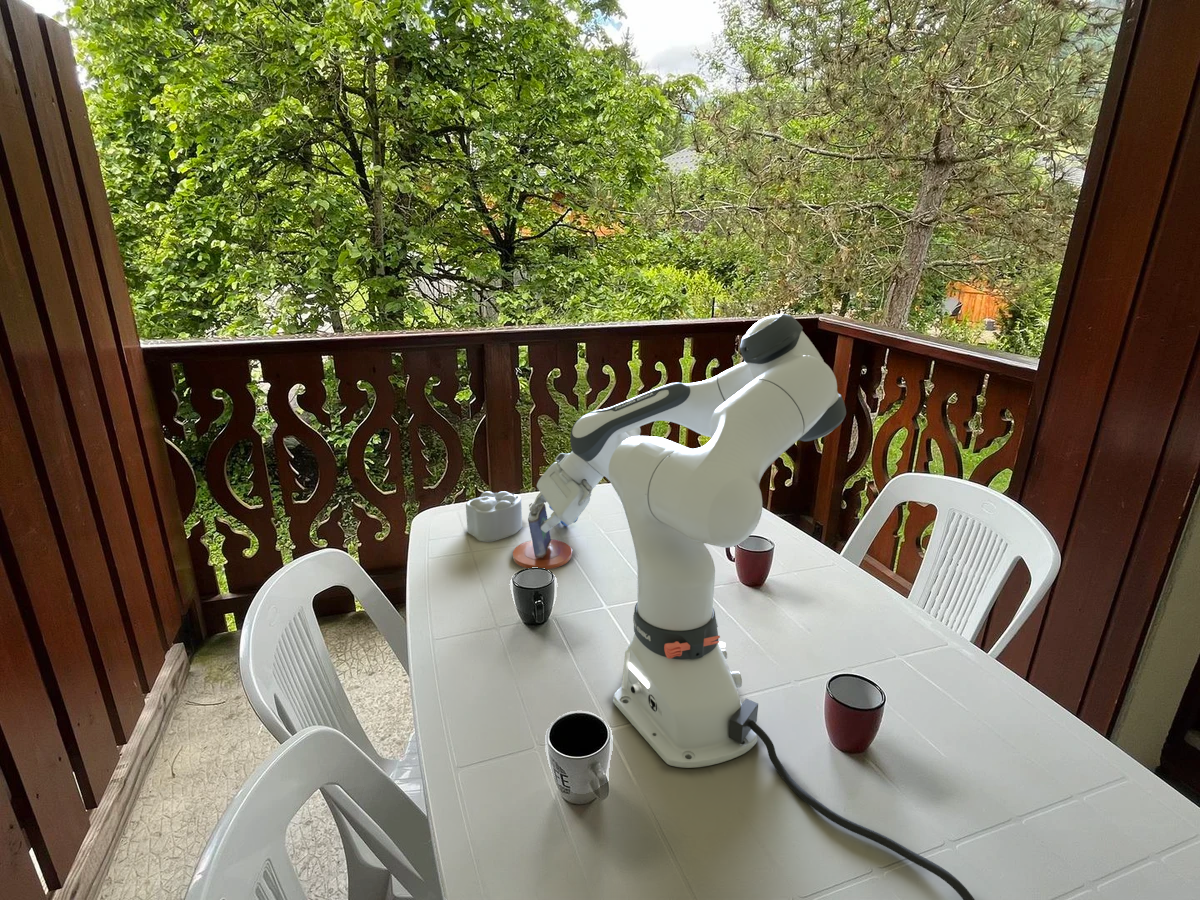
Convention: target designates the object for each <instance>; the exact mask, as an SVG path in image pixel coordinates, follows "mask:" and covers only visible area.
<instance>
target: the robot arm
mask: <svg viewBox="0 0 1200 900" xmlns="http://www.w3.org/2000/svg"><path fill="white" fill-rule="evenodd" d="M803 329H804V328H803V326H802V325H801V323H800V322H799V321H798V320H796V319H795V317H793V316H792V315H790V314H786V313H778V314H774V315H769V316H766V317H764V318H761V319H760V320H758V321H757V322H755V323H754V324H752V326H751V327H750V328H749V329H748V330H747V331H746V333H745V334H744V335H743V336H742V338H741V341H740V345H739V349H740V353H741V356H742V358H743V362H741V363H738V364H736V365H734V366H732V367H730V368H728V369H726V370H724V371H722V372H720V373H719V374H717V375H715V376H713V377H711V378H708V379H705V380H702V381H696V382H690V383H685V382H679V381H678V382H671V383H668V384H665V385H662V386H659V387H657V388H654V389H652V390H649V391H646V392H644V393H642V394H639V395H636V396H634V397H632V398H630V399H627V400H624V401H622V402H619V403H617V404H615V405H612V406H610V407H606V408H603V409H596V410H593V411H589V412H587V413H585V414H583V415H581V416H580V417H579V418H578V419H577V420H576V421H575V422H574V423H573V425H572V427H571V430H570V437H569V438H570V439H569V440H570V442H569V443H570V448H571V451H570V452H568V453H567V452H566V453H564V452H560V453H559V454H557V456H555V458H554V460H555V462H553V463H552V464H551V465H550V466H549V467H548V468H547V469H546V470H545V472H543V474H542V475H541V476H540V478H539V479H538V481H537V483H536V488H537V489H538V491H539V493H538V494H537V495H536V497H535V499H534V502H533V503H535V504H538V503H544V504H545V503H547V504H548V506H549V505H550V507H551V508H552V510H551V511H552V513H551V514H550V516H549V517H547V520H546V521H545V520H543V522H542V523H541V524H540V525H539V526H540V528H541V530H542V531H544V532H545V533H546V532H548V531H550V530H551V529H552V528H554V527H556V526H557V525H559V524H561V521H563V522H564V523H565V524H567V525H568V526H570V525H572V524H574V522H575V520H576V519H577V518H578V519H579V517H580V516H581V515H582V513H583V512H584V510H585V509H586V507H587V506H588V505H589V503H590V500H591V496H592V491H593V490H594V489H595V487H596V486H597V485H598V484H599V483H600V482H601V481H602V479H603V478H604V477H605V478H606V479H607V480H608V481H609V482H610V484H611V485H612V488H613V490H614V491H615V492H616V495H617V496H618V498H619V500H620V503H621V505H622V508H623V510H624V513H625V516H626V517H625V518H626V521H627V524H628V527H629V531H630V535H631V539H632V543H633V547H634V551H635V559H636V569H637V570H636V571H637V573H636V574H637V575H636V576H637V577H636V578H637V581H636V583H637V584H636V585H637V586H636V587H637V588H636V589H637V601H636V603H635V605H634V611H633V615H632V616H633V617H632V621H633V633H634V635H633V637H632V639H631V640H630V643H629V644H628V645H627V647H626V650H625V652H624V660H623V667H622V668H623V669H622V679H621V686H620V687H618V689H617V690H616V691H615V692H614V694H613V700H612V701H613V704H614V705H615V706H616V707H617V709H618V710H619V711H620V712H621V713H622V715H623V716H624V717H625V718H626V719H627V721H629V723H630V724H631V725H632V726H633V727H634V729H635V730H636V731H637V732H638V733H639V734H640V735H641V736H642V737H643V739H644V740H645V741H646V742H647V744H649V746H650V747H651V748H652V749H653V750H654V752H656V754H657V755H658V756H659V757H660V758H661V760H663V762H665V764H667V765H668V766H670V767H671V766H672V767H676V768H687V769H688V768H690V769H692V768H694V769H695V768H703V767H709V766H713V765H717V764H721V763H724V762H727V761H731V760H733V759H735V758H738V757H741V756H743V755H744V754H746V753H747V752H749V751H750V750H751V749H753V747H754V746H755V745H756V744H757V742H758V737H759V738H760V740H761V741H762V742H763V744H764V746H765V747H766V750H767V754H768V757H769V760H770V762H771V764H772V766H773V767H774V768H775V770H776V772H777V773H778V774H779V776H780V777H781V779H782V780H783V781H784V782H785V783H786V784H787V786H788V787H789V788H790V789H791V790H792V792H793V793H795V794H796V795H797V797H799V798H800V799H801V800H802V801H804V802H805V803H806V804H807V805H809V806H810V807H812V809H814V810H816V811H817V813H819V814H821V815H822V816H824V817H825V818H826V819H828V820H830V821H831V822H833V823H835V824H836V825H838V826H840V827H842V828H843V829H846V830H848V831H850V832H852V833H855V834H857V835H860V836H861V837H864V838H866V839H868V840H871V841H873V842H876V843H878V844H880V845H881V846H883V847H886V848H888V849H889V850H891V851H893V852H894V853H896V854H898V855H900V856H901V857H903V858H905V859H906V860H908V861H910V862H912V863H913V864H915V865H917V866H919V867H921V868H923V869H925V870H926V871H928V872H930V873H932V874H933V875H935V876H937V877H938V878H940V879H941V880H942V881H944V882H945V883H946V884H948V885H949V886H950V887H951V888H952V889H953V890H954V891H955V892H956V893H957V894H958V896H960V898H961V899H962V900H976V899H975V897H974V896H973V895H972V894H971V892H970V891H969V890H968V888H966V886H965V885H964V884H963V883H962V882H961V881H960V880H959V879H958V878H957V877H956V876H954V875H953V874H952V873H951V872H949V871H948V870H946V869H945V868H944V867H942V866H940V865H939V864H937V863H935V862H933V861H932V860H930V859H928V858H926V857H924V856H922V855H920V854H918V853H916V852H915V851H913V850H911V849H909V848H908V847H905V846H904V845H903V844H900V843H899V842H897V841H895V840H893V839H891V838H890V837H888V836H886V835H883V834H881V833H880V832H877V831H875V830H872V829H870V828H868V827H866V826H863V825H862V824H860V823H856V822H854V821H852V820H849V819H847V818H846V817H844V816H841V815H840V814H838V813H836V812H835V811H833V810H831V809H830V808H829V807H827V806H826V805H824V804H823V803H822V802H820V801H818V800H817V799H816V798H815V797H813V795H811V794H810V793H808V792H807V791H806V790H805V789H803V788H802V787H801V786H800V785H799V784H798V783H797V781H795V780H794V779H793V777H792V776H791V775H790V773H789V772H788V771H787V770H786V768H785V767H784V766H783V763H782V762H781V761H780V759H779V758H778V756H777V752H776V748H775V745H774V743H773V741H772V740H771V738H770V736H769V735H768V734H767V733H766V732H765V730H763V729H762V727H760V726H759V724H758V723H757V721H758V712H759V703H758V702H756V701H753V700H751V699H748V698H745V699H744V700H743V702H742V701H741V695H740V693H739V691H738V689H740V688H742V686H743V679H742V676H741V675H742V674H741V673H740V671H738V670H735V671H731V669H730V667H729V664H728V662H727V660H726V659H728V652H727V649H725V648H726V642H724V641H719V639H721V636H720V635H719V631H718V630H719V629H718V627H719V626H718V620H717V617H716V616H717V615H716V611H715V608H714V599H715V598H714V597H715V596H714V595H715V580H716V579H715V578H716V566H715V562H714V558H713V556H712V554H711V552H710V550H709V549H708V547H707V546H706V545H705V544H707V545H711V546H715V547H719V548H725V549H727V548H728V549H729V548H733V547H736V546H738V545H740V544H741V543H743V542H745V540H747V539H748V538H749V537H750V536H751V535H752V534H753V532H755V530H756V528H757V526H758V525H759V523H760V520H761V517H762V513H763V495H762V490H761V489H760V484H761V479H762V477H763V476H764V473H766V471H767V470H768V469H769V468H770V466H771V465H772V464H773V463H774V462H775V461H776V460H777V459H778V458H780V457H781V456H782V455H783V454H784V453H786V451H788V449H790V448H791V447H792V446H793V445H794V444H796V442H798V441H801V442H811V441H814V440H819V439H821V438H824V437H826V436H828V435H830V433H832V432H833V431H834V430H835V429H837V428H838V427H839V426H840V425H841V424H842V423H843V422H844V419H845V418H846V415H847V409H846V404H845V401H844V398H843V396H842V394H841V393H839V391H838V382H837V378H836V375H835V373H834V372H833V370H832V368H831V367H830V366H829V365H828V364H827V363H826V362H825V361H824V359H823V357H822V356H821V354H820V352H819V350H818V349H817V348H816V347H815V345H814V344H813V342H812V341H811V339H810V338H809V337H808V336H807V335H806V334H805V332H804V331H803ZM659 421H664V422H670V423H674V424H677V425H680V426H682V427H685V428H687V429H689V430H691V431H693V432H695V433H696V434H699V435H700V436H701V435H702V436H704V437H708V438H710V440H709V441H708V442H706V443H705V444H704V445H702V446H700V447H696V448H690V447H688V446H685V445H683V444H680V443H677V442H675V441H673V440H669V439H667V438H664V437H661V436H653V435H651V436H649V435H641V433H642V430H641V427H642V426H644V425H648V424H651V423H653V422H659ZM550 507H549V508H550ZM531 509H532V507H531V506H530V507H529V509H528V510H529V512H530V511H531ZM575 523H576V522H575ZM722 648H724V649H722Z"/></svg>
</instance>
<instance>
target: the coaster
mask: <svg viewBox="0 0 1200 900" xmlns="http://www.w3.org/2000/svg"><path fill="white" fill-rule="evenodd" d="M537 557H538V556H537ZM572 557H573V549H572V548H571V546H570V545H569V544H568V543H566V542H565V541H562V540H559V539H553V538H551V541H550V543H549V545H548V550H547V551H546V555H545V556H543V558H542V557H540V558H536V557H535V554H534V548H533V543H532V539H531V540H527V541H525V542H521V543H520V544H519V545H517V546H516V547H515V548H514V549H513V550H512V561H514V563H515V564H516V565H518V566H519V567H522V568H524V569H528V568H532V567H538V568H545V569H546V570H552V569H556V568H559V567H562V566H564V565H566V564H567V563H568V562H570V560H571V559H572Z"/></svg>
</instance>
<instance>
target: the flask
mask: <svg viewBox="0 0 1200 900" xmlns="http://www.w3.org/2000/svg"><path fill="white" fill-rule="evenodd" d="M528 507H529V508H530V507H532V509H531V511H530V510H529V513H528V517H527V522H528V527H529V532H530V538H531V540H532V543H533V548H534V554H535V557H536V558H540V557H542V558H543V556H545V555H546V551H547V550H548V545H549V543H550V541H551V539H552V537H551V531H550V530H549V531H548V532H546V533H545V532H544V531H542V530H541V528H540V526H539V525H540V524H541V523H542V522H543V520H545V521H546V520H547V519H548V514H547V507H546V504H545V502H544V503H538V504H535V503H534V502H533V503H532V502H531V503H529V505H528ZM537 556H538V557H537Z"/></svg>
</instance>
